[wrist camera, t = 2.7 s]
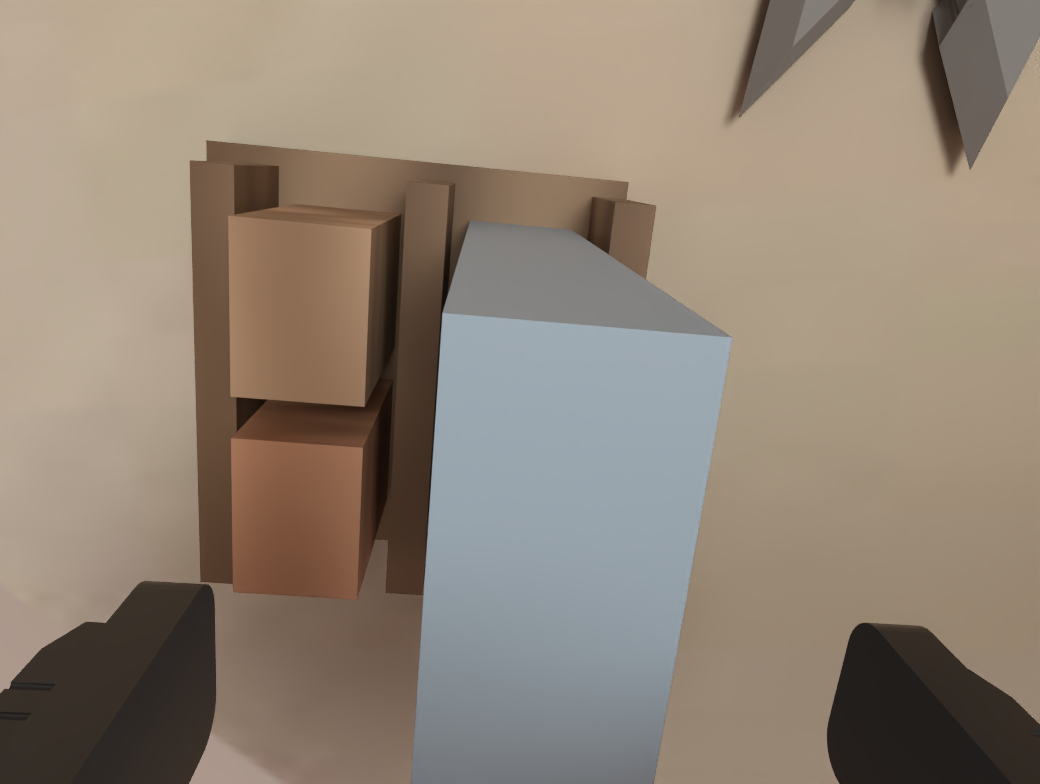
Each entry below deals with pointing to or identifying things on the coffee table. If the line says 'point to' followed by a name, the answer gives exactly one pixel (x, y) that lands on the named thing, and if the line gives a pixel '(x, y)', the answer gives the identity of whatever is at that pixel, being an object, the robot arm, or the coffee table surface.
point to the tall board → (559, 512)
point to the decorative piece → (962, 42)
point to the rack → (420, 300)
